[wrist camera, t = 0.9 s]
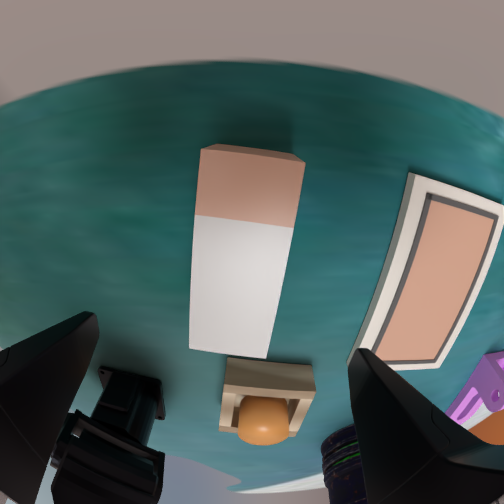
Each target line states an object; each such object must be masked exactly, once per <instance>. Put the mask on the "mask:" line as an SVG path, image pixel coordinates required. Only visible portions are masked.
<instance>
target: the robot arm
mask: <svg viewBox="0 0 504 504" xmlns="http://www.w3.org/2000/svg"><path fill="white" fill-rule="evenodd" d="M98 339H99V327H98V322H97V317H96V315H95V314H94V313H92V312H88V311H84V312H82V313H79V314H77V315H75V316H73V317H71V318H69V319H67V320H65V321H62V322H60V323H58V324H56V325H54V326H52V327H50V328H48V329H46V330H43V331H41V332H39V333H37V334H35V335H33V336H31V337H29V338H27V339H25V340H23V341H21V342H18V343H16V344H14V345H12V346H11V347H8V348H6V349H4V350H2V351H0V504H5V503H6V500H7V498H9V499H10V500H12V501H13V502H15V503H16V504H35V500H36V498H37V494H38V491H39V488H40V485H41V482H42V479H43V476H44V473H45V470H46V467H47V464H48V461H49V459H50V456H51V458H52V460H51V463H50V465H51V466H52V467H54V468H55V469H57V472H56V474H55V477H54V479H53V482H52V485H51V492H52V496H53V501H54V504H157V503H158V501H159V499H160V496H161V492H162V487H163V474H164V460H165V453H163V452H161V451H156V450H154V449H151V448H149V447H147V443H148V440H149V436H150V433H151V429H152V426H153V423H154V420H155V419H158V420H164V419H165V409H164V401H163V393H162V384H161V382H160V381H159V380H156V379H151V378H147V377H143V376H138V375H134V374H130V373H126V372H122V371H118V370H114V369H111V368H107V367H104V366H100V367H99V369H98V373H99V377H100V380H101V383H102V387H103V392H102V394H101V396H100V398H99V400H98V402H97V404H96V406H95V408H94V410H93V412H92V415H91V417H88V416H86V415H84V414H83V413H82V412H81V411H79V410H78V409H76V411H75V413H68V411H69V409H70V407H71V404H72V402H73V400H74V398H75V396H76V393H77V391H78V389H79V387H80V385H81V383H82V380H83V378H84V376H85V374H86V372H87V369H88V366H89V364H90V361H91V358H92V355H93V352H94V350H95V347H96V344H97V341H98ZM348 378H349V388H350V400H351V409H352V414H353V419H354V424H355V429H356V434H357V440H358V445H359V451H360V456H361V462H362V468H363V474H364V481H365V487H366V494H367V501H368V504H504V445H492V444H489V443H486V442H484V441H482V440H481V439H479V438H478V437H476V436H475V435H473V434H472V433H471V432H469V431H468V430H466V429H465V428H463V427H462V426H461V425H459V424H458V423H456V422H455V421H454V420H452V419H451V418H450V417H448V416H447V415H446V414H445V413H443V412H442V411H441V410H440V409H439V408H437V407H436V406H435V405H434V404H432V402H430V401H429V400H428V399H427V398H426V397H425V396H423V395H422V394H421V393H420V392H419V391H418V390H416V389H415V388H414V387H413V386H412V385H410V384H409V383H408V382H407V381H406V380H405V379H403V378H402V377H401V376H400V375H399V374H398V373H396V372H395V371H394V370H393V369H392V368H391V367H389V366H388V365H387V364H386V363H385V362H383V361H382V360H381V359H380V358H379V357H378V356H376V355H375V354H374V353H373V352H372V351H371V350H369V349H368V348H357V349H356V350H355V351H354V354H353V356H352V358H351V361H350V363H349V365H348ZM73 434H75V435H77V436H78V437H79V438H78V437H76V436H74V435H73Z"/></svg>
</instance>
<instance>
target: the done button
mask: <svg viewBox="0 0 504 504" xmlns="http://www.w3.org/2000/svg"><path fill="white" fill-rule="evenodd" d="M288 435H289V420H288V407H287V401H286V399H285V398H275V397H262V396H251V395H247V396H245V397H244V398H243V399H242V400H241V402H240V409H239V424H238V436H239V437H240V438H241V439H242V440H243V441H245V442H247V443H250V444H254V445H272V444H276V443H279V442H281V441H283V440H285V439H286V438H287V437H288Z"/></svg>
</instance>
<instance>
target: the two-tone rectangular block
mask: <svg viewBox="0 0 504 504" xmlns="http://www.w3.org/2000/svg"><path fill="white" fill-rule="evenodd" d="M304 169H305V162H304V161H302V160H301V159H299V158H298V157H297V156H295V155H294V154H290V153H284V152H278V151H271V150H265V149H258V148H250V147H242V146H234V145H225V144H215V145H211V146H208V147H205V148H202V149H201V155H200V164H199V174H198V185H197V196H196V208H195V221H194V235H193V250H192V269H191V291H190V322H189V348H190V349H196V350H202V351H209V352H216V353H223V354H230V355H238V356H246V357H255V358H265V359H266V356H267V352H268V347H269V343H270V338H271V334H272V330H273V325H274V321H275V316H276V312H277V307H278V302H279V298H280V293H281V288H282V284H283V279H284V274H285V269H286V264H287V259H288V254H289V249H290V244H291V239H292V234H293V229H294V224H295V219H296V213H297V208H298V202H299V197H300V191H301V186H302V180H303V175H304Z"/></svg>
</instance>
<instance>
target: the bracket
mask: <svg viewBox="0 0 504 504" xmlns="http://www.w3.org/2000/svg"><path fill="white" fill-rule="evenodd" d="M498 391H499V397H498ZM483 402H484V404H485V406H486V407H487V409H488V410H489V411H491V412H497V411H499V410H502V409H504V351H502V352H496V353H491V354H485V355H483V357H482V359H481V360H480V362H479V364H478V365H477V367H476V368H475V370H474V372H473V373H472V375H471V376H470V378H469V379H468V381H467V383H466V384H465V386H464V387H463V388H462V390H461V391H460V393H459V394H458V396H457V397H456V399H455V400H454V401H453V403H452V404H451V405H450V407H449V408H448V409H447V411H446V412H445V414H446V415H447V416H448V417H450V418H451V419H452V420H454V421H455V422H456V423H458V424H459V425H460V424H462V423H464V422H465V421H466V420H468V419H469V418H470V417H471V416H472V415H473V414H474V413H475V412H476V411H477V409H478V408H479V407H480V406H481V404H482V403H483Z"/></svg>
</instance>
